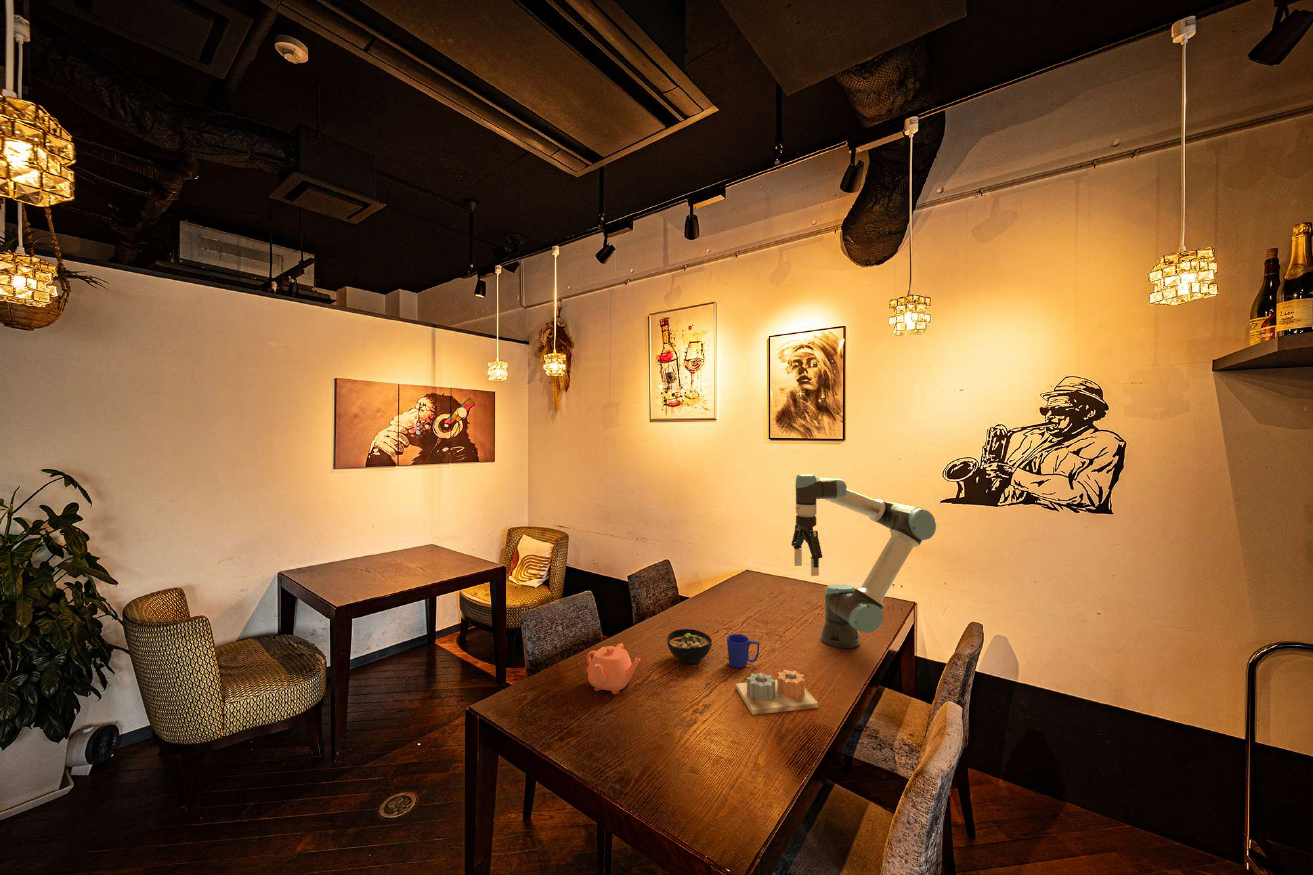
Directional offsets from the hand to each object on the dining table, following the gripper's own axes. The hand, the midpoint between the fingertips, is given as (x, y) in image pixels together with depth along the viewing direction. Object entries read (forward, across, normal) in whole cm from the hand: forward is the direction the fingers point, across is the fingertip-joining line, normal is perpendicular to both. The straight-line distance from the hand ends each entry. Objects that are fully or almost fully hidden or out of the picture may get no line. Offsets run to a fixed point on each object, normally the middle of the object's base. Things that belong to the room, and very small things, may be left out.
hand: (806, 570), depth 186 cm
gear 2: (+33, +22, -17) cm, 43 cm away
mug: (+35, -1, -25) cm, 43 cm away
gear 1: (+33, +22, -27) cm, 48 cm away
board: (+35, +22, -22) cm, 47 cm away
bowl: (+35, -8, -44) cm, 57 cm away
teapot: (+35, +6, -75) cm, 83 cm away
